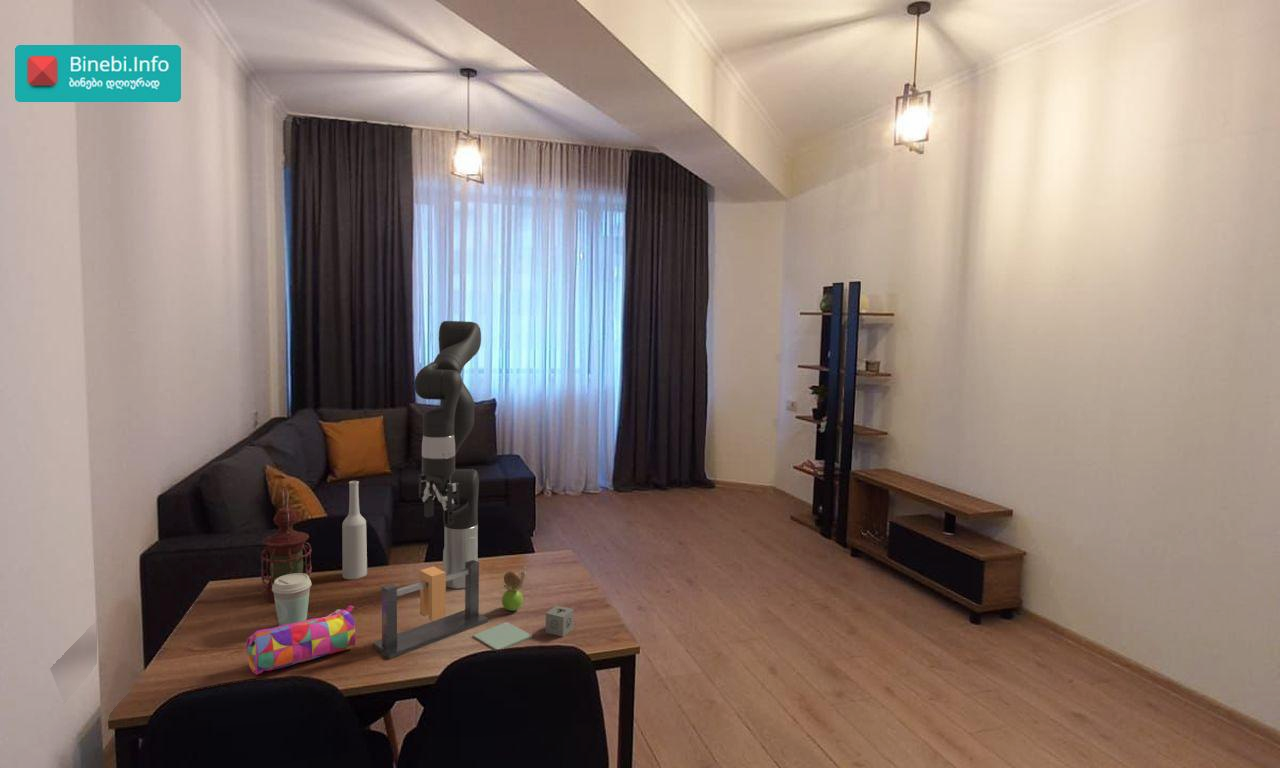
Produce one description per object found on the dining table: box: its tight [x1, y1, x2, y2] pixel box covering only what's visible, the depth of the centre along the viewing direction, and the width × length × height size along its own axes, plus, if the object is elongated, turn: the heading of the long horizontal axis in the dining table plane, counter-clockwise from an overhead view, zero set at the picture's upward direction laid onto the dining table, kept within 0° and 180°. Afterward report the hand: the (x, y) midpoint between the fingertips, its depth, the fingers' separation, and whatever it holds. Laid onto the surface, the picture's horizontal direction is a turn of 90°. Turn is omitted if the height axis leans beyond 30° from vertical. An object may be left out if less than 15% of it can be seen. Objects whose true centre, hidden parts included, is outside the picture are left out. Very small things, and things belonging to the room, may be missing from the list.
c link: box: [419, 565, 447, 622], centre depth 158 cm, size 5×4×11 cm, turn 48°
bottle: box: [341, 480, 368, 580], centre depth 192 cm, size 7×7×28 cm
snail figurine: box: [501, 566, 527, 612], centre depth 173 cm, size 5×6×12 cm
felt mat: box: [472, 621, 533, 651], centre depth 159 cm, size 10×10×1 cm
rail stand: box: [372, 560, 489, 660], centre depth 158 cm, size 8×26×15 cm, turn 138°
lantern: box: [259, 484, 313, 603], centre depth 177 cm, size 12×12×30 cm
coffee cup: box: [272, 573, 312, 627], centre depth 160 cm, size 8×9×12 cm
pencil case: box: [246, 605, 357, 676], centre depth 146 cm, size 22×9×9 cm, turn 135°
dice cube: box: [545, 605, 575, 638], centre depth 163 cm, size 5×5×5 cm
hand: (438, 520), depth 157 cm, fingers open, 8 cm apart
